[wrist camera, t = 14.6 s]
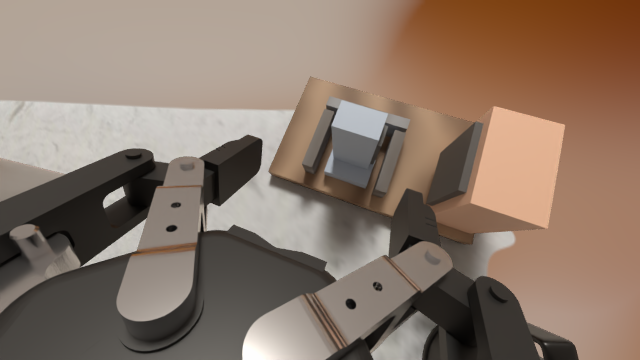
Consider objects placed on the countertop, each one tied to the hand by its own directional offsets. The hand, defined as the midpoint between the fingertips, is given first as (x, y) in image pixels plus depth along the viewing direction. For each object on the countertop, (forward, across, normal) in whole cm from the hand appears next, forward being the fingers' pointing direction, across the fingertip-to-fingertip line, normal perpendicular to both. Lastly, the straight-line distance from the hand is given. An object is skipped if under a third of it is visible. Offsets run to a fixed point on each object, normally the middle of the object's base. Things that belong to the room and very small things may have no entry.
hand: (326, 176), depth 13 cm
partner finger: (+15, -12, +6) cm, 20 cm away
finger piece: (+15, 0, +6) cm, 16 cm away
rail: (+18, -3, +6) cm, 19 cm away
